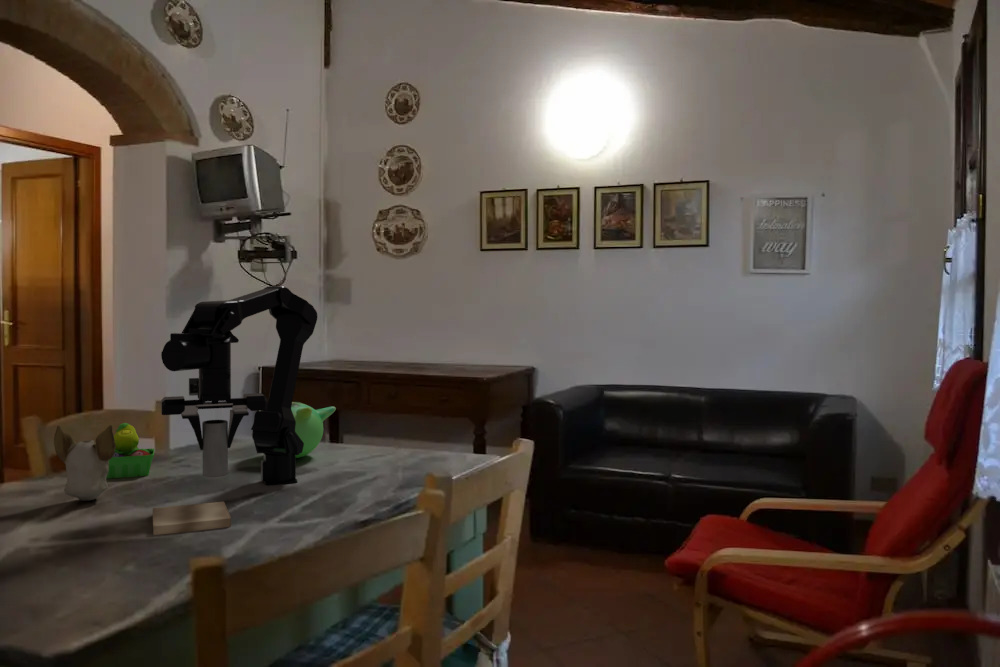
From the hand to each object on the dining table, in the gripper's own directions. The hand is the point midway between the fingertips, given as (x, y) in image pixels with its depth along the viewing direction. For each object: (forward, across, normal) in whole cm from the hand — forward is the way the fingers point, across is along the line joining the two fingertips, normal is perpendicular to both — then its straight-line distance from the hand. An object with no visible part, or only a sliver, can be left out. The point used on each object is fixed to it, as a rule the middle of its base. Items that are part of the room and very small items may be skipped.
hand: (215, 448), depth 143 cm
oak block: (+11, +5, +12) cm, 17 cm away
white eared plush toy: (+10, +22, -9) cm, 26 cm away
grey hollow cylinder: (+5, 0, 0) cm, 5 cm away
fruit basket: (+11, +16, -31) cm, 37 cm away
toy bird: (+10, -21, -36) cm, 43 cm away
